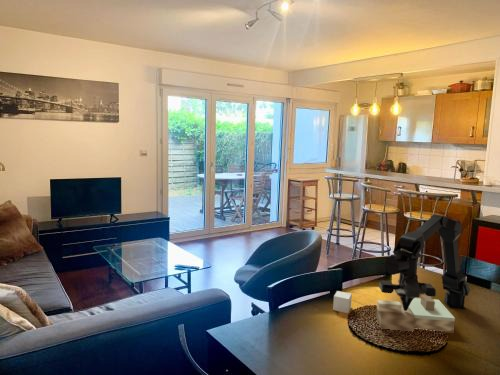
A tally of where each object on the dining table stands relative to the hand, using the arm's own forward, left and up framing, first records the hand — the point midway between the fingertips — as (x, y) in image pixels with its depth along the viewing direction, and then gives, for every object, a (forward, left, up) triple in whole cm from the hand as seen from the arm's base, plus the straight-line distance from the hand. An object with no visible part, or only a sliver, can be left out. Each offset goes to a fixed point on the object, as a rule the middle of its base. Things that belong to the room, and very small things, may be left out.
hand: (405, 310), depth 139 cm
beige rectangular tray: (-4, -5, -6) cm, 9 cm away
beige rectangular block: (+6, 0, 0) cm, 6 cm away
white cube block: (+21, -11, -7) cm, 25 cm away
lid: (-10, -6, -3) cm, 12 cm away
